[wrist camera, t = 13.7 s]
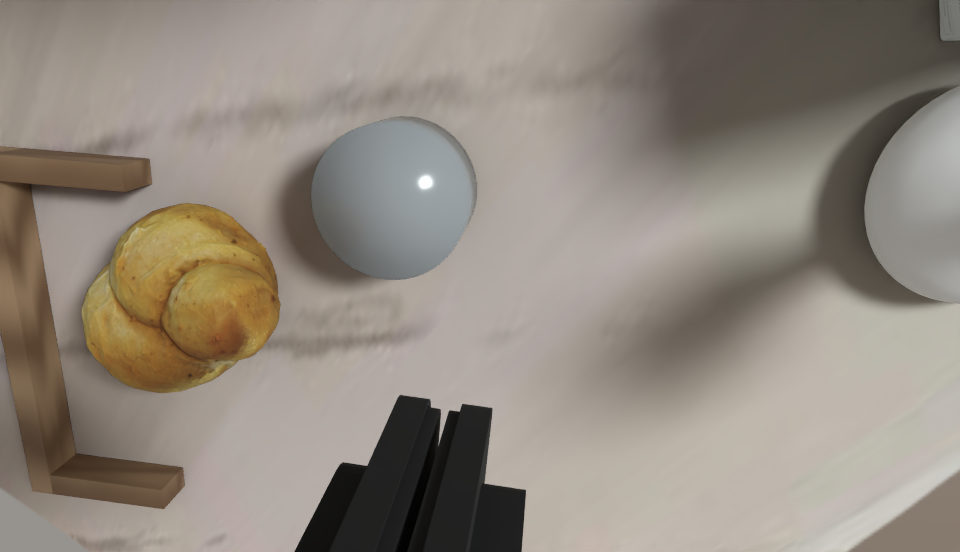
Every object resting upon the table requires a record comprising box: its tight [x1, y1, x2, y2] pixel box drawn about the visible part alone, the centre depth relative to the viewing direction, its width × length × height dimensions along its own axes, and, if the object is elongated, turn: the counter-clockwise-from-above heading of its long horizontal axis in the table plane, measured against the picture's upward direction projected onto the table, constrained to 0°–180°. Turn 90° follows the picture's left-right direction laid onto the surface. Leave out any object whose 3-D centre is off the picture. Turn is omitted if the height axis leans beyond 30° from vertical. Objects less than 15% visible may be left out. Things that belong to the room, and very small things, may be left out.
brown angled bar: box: [0, 147, 185, 509], centre depth 40 cm, size 23×10×2 cm, turn 177°
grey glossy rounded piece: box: [311, 117, 477, 280], centre depth 34 cm, size 8×8×4 cm
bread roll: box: [81, 203, 280, 393], centre depth 36 cm, size 13×10×8 cm
